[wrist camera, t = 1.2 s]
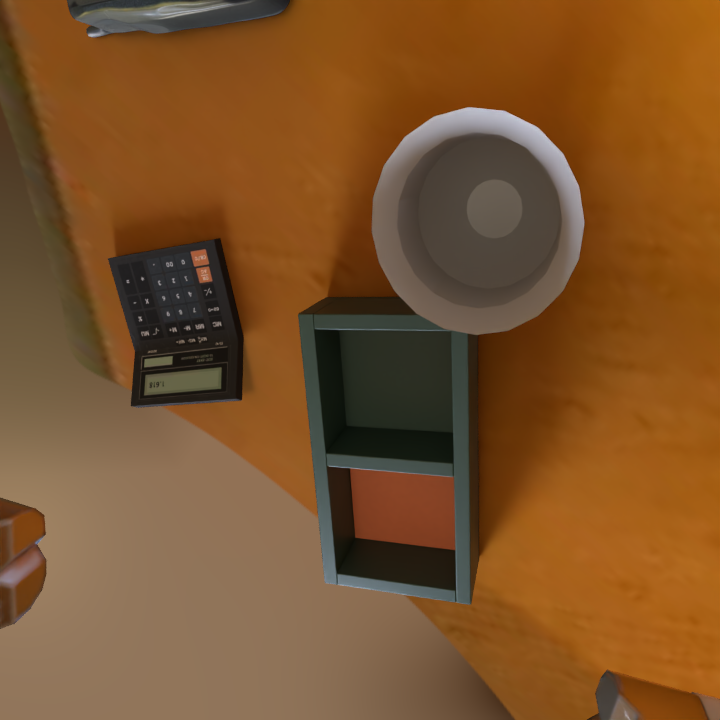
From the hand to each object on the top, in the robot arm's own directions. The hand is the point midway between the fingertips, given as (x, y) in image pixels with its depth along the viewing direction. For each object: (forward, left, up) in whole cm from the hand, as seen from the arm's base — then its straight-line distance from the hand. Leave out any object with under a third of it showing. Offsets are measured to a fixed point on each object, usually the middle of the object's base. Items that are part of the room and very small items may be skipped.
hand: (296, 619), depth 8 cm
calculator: (+23, +4, -32) cm, 39 cm away
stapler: (+19, -17, -32) cm, 41 cm away
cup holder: (+6, +12, -32) cm, 34 cm away
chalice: (-1, -4, -32) cm, 32 cm away
